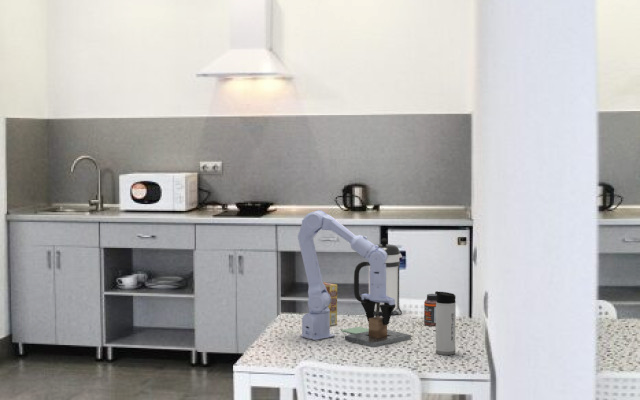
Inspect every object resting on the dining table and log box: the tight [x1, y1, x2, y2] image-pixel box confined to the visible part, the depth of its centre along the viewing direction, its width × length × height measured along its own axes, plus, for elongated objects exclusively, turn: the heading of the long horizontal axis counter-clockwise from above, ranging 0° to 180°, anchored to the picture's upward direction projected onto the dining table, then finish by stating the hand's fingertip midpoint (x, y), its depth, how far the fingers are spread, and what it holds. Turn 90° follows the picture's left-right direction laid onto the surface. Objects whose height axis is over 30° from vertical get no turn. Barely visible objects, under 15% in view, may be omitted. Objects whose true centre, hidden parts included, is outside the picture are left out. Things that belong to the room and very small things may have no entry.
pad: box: [340, 326, 369, 335], centre depth 326 cm, size 9×9×1 cm
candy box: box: [323, 281, 338, 327], centre depth 339 cm, size 9×4×15 cm, turn 39°
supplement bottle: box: [423, 293, 437, 327], centre depth 338 cm, size 6×6×11 cm
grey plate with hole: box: [344, 329, 412, 348], centre depth 313 cm, size 18×14×2 cm
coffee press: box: [353, 237, 403, 317], centre depth 357 cm, size 17×16×30 cm
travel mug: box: [434, 291, 457, 356], centre depth 293 cm, size 6×7×20 cm
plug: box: [368, 316, 388, 338], centre depth 312 cm, size 4×4×8 cm
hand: (378, 322), depth 312 cm, fingers open, 7 cm apart
